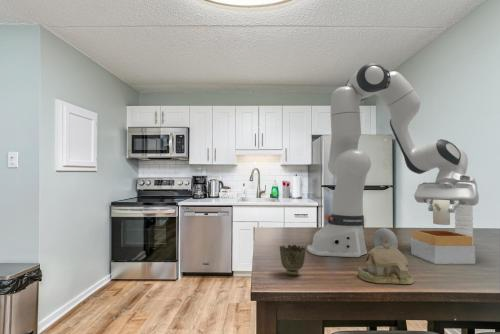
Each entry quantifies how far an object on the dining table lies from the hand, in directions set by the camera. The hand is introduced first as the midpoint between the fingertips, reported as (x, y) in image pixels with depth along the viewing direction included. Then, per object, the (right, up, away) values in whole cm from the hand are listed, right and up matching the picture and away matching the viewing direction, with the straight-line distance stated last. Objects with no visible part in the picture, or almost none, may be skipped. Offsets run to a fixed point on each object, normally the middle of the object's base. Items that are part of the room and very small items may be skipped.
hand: (440, 210), depth 113 cm
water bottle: (+24, -18, +24) cm, 39 cm away
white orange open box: (+2, -17, 0) cm, 17 cm away
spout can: (-1, -5, -1) cm, 5 cm away
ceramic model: (-30, -16, -24) cm, 42 cm away
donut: (-18, -17, +4) cm, 25 cm away
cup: (-56, -16, -21) cm, 62 cm away
